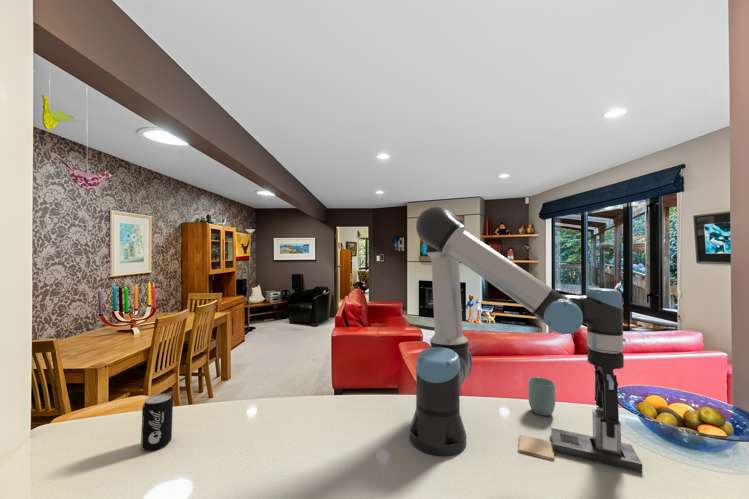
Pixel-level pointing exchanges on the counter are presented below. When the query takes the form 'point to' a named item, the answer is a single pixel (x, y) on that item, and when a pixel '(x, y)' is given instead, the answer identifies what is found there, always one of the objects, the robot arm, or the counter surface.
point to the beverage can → (156, 422)
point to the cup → (541, 395)
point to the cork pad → (536, 447)
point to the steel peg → (599, 435)
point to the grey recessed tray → (583, 449)
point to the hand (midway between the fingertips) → (606, 440)
